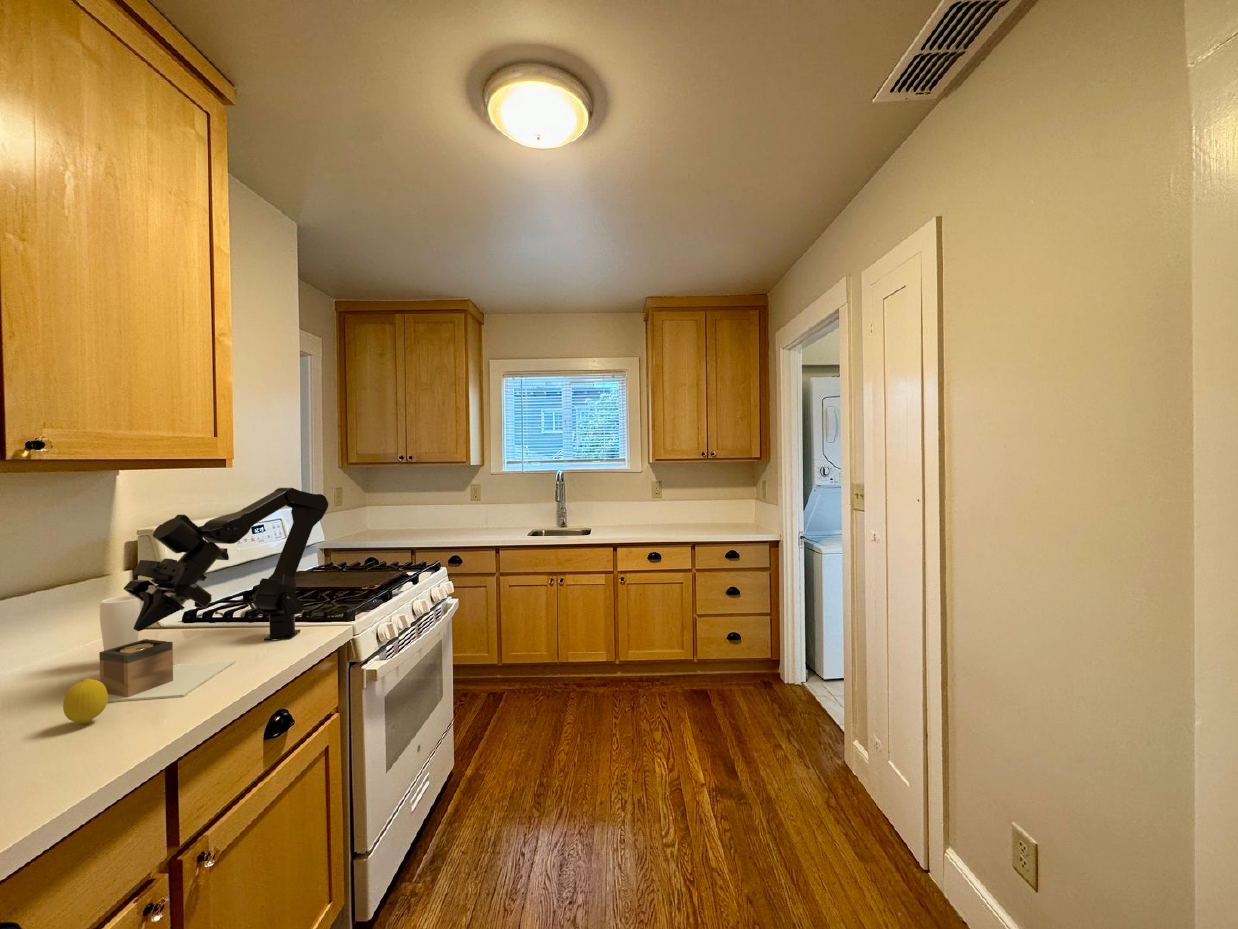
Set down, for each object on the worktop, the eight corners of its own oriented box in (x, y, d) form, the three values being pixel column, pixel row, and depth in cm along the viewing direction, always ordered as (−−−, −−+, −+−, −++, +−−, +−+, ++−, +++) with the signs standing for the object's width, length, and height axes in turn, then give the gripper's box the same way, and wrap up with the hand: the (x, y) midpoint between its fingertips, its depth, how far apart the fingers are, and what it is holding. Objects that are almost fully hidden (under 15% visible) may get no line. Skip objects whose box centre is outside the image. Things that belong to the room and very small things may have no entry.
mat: (147, 668, 118) (147, 666, 118) (235, 662, 121) (235, 660, 121) (78, 704, 100) (78, 702, 100) (183, 696, 103) (183, 694, 103)
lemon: (56, 734, 89) (55, 687, 89) (74, 720, 94) (73, 675, 94) (99, 727, 91) (98, 681, 91) (114, 713, 96) (113, 670, 96)
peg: (142, 678, 110) (142, 642, 110) (159, 680, 109) (159, 644, 109) (114, 688, 105) (113, 650, 105) (131, 690, 104) (131, 653, 104)
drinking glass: (95, 666, 119) (94, 600, 119) (133, 656, 125) (132, 594, 125) (108, 671, 116) (106, 604, 116) (146, 661, 122) (145, 597, 122)
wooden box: (146, 678, 112) (145, 639, 112) (173, 682, 110) (172, 642, 110) (100, 694, 104) (99, 652, 104) (128, 699, 102) (127, 655, 102)
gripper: (133, 542, 115) (69, 606, 104) (196, 545, 109) (135, 613, 99) (173, 571, 122) (117, 633, 112) (234, 575, 117) (181, 641, 107)
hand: (136, 630), depth 107 cm, fingers closed
